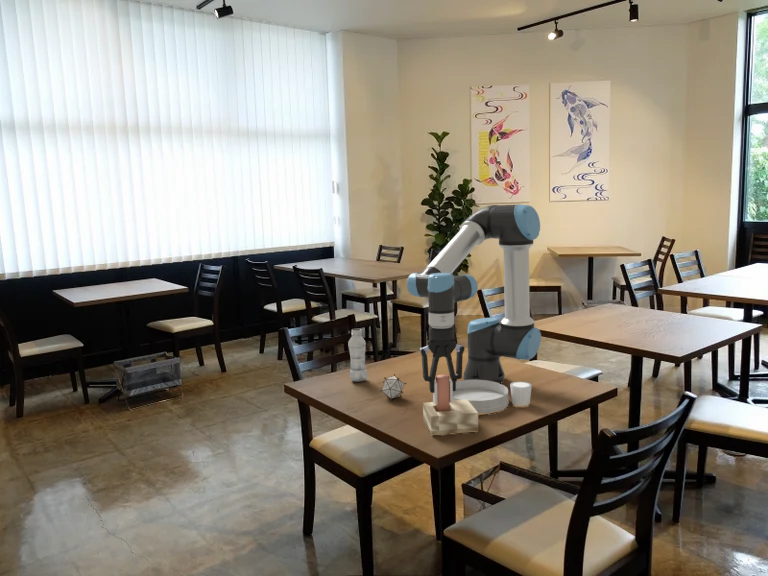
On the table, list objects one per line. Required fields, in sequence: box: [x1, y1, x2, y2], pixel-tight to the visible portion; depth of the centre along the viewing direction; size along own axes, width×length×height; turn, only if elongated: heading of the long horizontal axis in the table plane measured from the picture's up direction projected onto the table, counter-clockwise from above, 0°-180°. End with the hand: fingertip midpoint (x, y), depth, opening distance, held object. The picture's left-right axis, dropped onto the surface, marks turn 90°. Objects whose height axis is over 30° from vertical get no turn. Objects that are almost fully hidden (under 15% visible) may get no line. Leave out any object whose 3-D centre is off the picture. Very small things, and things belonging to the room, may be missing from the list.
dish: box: [453, 379, 510, 413], centre depth 203 cm, size 22×22×5 cm
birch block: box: [422, 399, 479, 436], centre depth 184 cm, size 14×12×6 cm
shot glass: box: [509, 381, 533, 406], centre depth 200 cm, size 7×7×7 cm
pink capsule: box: [435, 374, 450, 412], centre depth 182 cm, size 4×4×12 cm
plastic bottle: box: [347, 328, 368, 383], centre depth 230 cm, size 6×7×20 cm
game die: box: [379, 373, 407, 402], centre depth 210 cm, size 9×8×10 cm
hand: (442, 401), depth 183 cm, fingers closed on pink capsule, 4 cm apart
